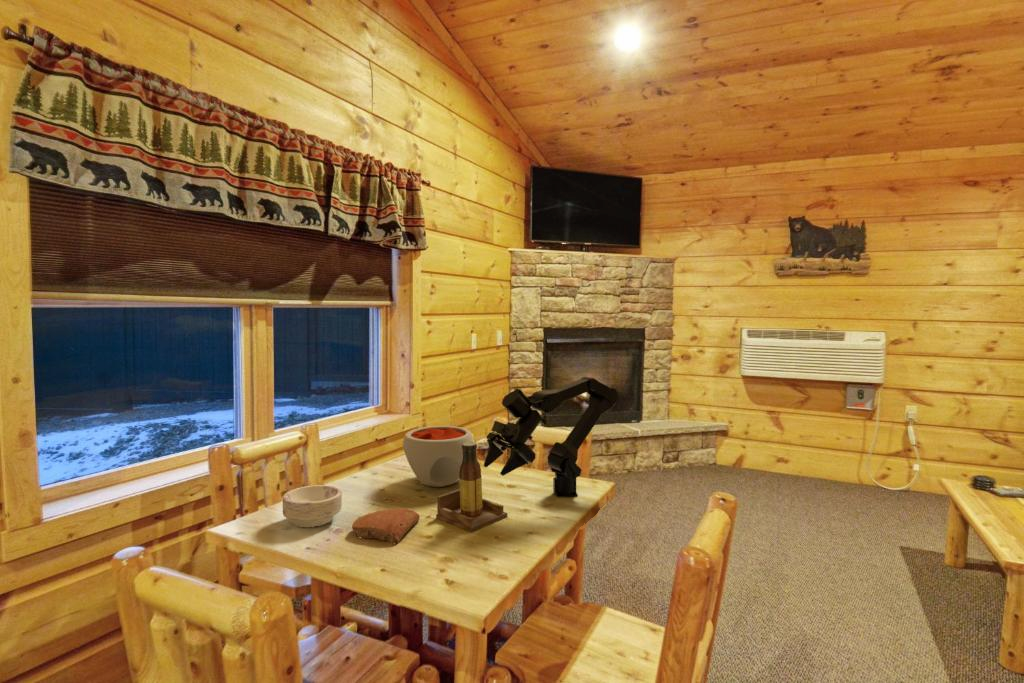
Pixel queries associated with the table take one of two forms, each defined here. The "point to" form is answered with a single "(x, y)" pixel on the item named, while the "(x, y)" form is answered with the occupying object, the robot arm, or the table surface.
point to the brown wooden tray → (452, 514)
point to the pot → (436, 453)
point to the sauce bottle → (470, 481)
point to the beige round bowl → (312, 505)
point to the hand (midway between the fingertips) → (492, 470)
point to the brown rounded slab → (385, 524)
